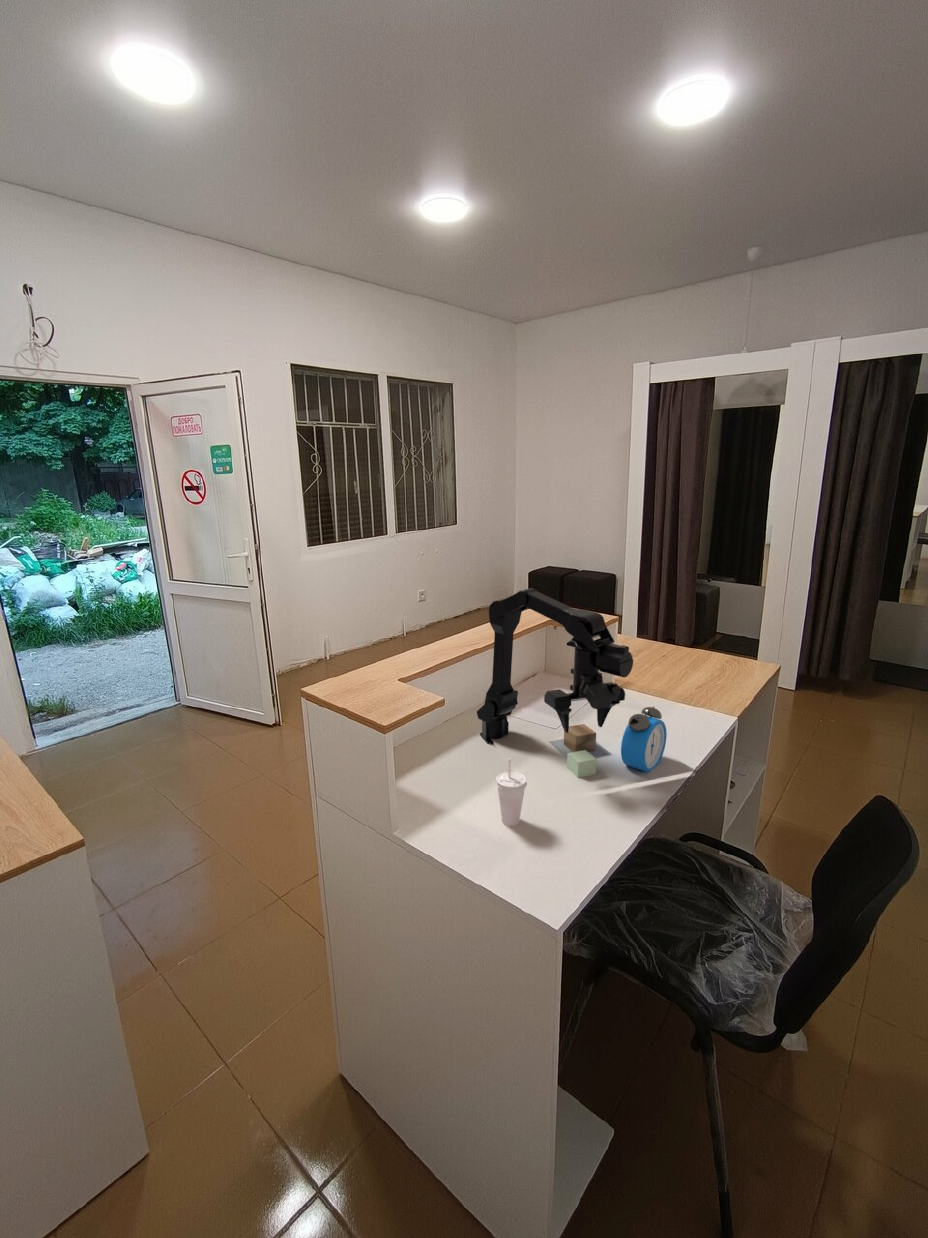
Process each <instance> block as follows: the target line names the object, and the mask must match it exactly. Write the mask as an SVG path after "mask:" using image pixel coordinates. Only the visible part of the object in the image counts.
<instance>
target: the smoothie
mask: <svg viewBox="0 0 928 1238" xmlns="http://www.w3.org/2000/svg"><path fill="white" fill-rule="evenodd" d="M511 763H512V758H511V757H508V758H507V771H505V772H501V773H499V774H498V775H496V777H495V784H496V786H497V794H498V801H499V808H500V816H501V823H502V824H503V825H504V826H508V827H515V826H517V825H518V824H519V823H520V820H521V816H522V815H521V813H522V808H523V803H524V795H525V789H526V788H527V785H528V782H527V779H528V778H526V776H525V775H524V774H522V773H520V772H517V771H516V772H515V771H511V770H512V769H511V766H512V764H511Z"/></svg>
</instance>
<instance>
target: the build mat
mask: <svg viewBox="0 0 928 1238" xmlns="http://www.w3.org/2000/svg"><path fill="white" fill-rule="evenodd" d="M548 743H550V745H552V746H553V748H555V749H556V750H557V751H558V752H559V753H560V754H561V755H563V756H564V757H565V758H566V759H567V754H568V753H572V751H571V750H569V749H568V748H567V747H566V746H565V745H564V738H560V739H555V740H549V741H548ZM589 753H590V754H591V755H592V756H593V757H595V758H598V757H604V756H610V755H612V752H610V751H609V750H608V749H606V748H605V747H604V746H602V745H601V744H599V743H598V742H597V741H596V749H595V751H591V752H589Z"/></svg>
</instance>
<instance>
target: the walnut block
mask: <svg viewBox="0 0 928 1238" xmlns="http://www.w3.org/2000/svg"><path fill="white" fill-rule="evenodd" d="M563 739H564V745H565V746H566V747H567V748H568V749H569V750H571V751H572V752H577V751H583V750H586V751H587V752H591V751H595V749H596V742H597V732H596V731H595V730H593V729H592V728H590V727H589V726H587V724H585V723H581V724H575V725H574V724H573V725H569V730H568V733H566V732H565V731H564V730H563Z"/></svg>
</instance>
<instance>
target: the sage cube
mask: <svg viewBox="0 0 928 1238" xmlns="http://www.w3.org/2000/svg"><path fill="white" fill-rule="evenodd" d="M566 760H567V761H566V762H567V763H566V769H567V770H569V771H570V772H571V773H572V774H573V775H574V776H575V777H576V778H583V777H588V776H593V775H597V762H598V761H597V757H593V756H592V755H591V754H590V753H589V752H587V751H586V750H583V751H577V752H572V753H568V754H567V758H566Z"/></svg>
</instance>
